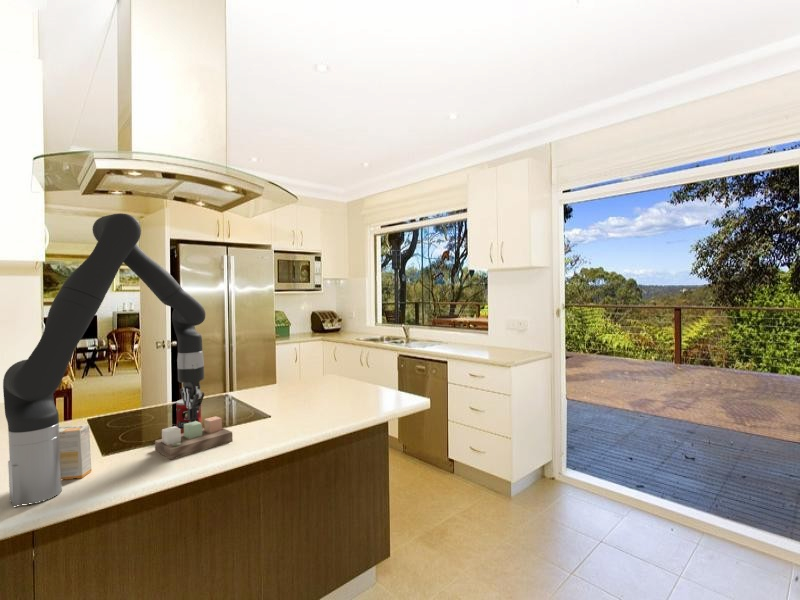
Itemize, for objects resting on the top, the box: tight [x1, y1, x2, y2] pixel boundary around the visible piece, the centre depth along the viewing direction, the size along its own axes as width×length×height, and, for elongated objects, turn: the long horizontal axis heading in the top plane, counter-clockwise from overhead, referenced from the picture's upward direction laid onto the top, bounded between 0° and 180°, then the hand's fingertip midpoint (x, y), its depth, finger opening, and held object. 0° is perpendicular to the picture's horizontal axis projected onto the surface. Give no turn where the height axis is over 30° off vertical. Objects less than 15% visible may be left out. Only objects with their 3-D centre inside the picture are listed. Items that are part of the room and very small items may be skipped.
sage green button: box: [184, 421, 203, 439], centre depth 134 cm, size 4×4×4 cm
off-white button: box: [161, 425, 181, 445], centre depth 129 cm, size 4×4×4 cm
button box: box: [154, 427, 233, 460], centre depth 133 cm, size 19×12×4 cm, turn 139°
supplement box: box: [59, 424, 93, 480], centre depth 112 cm, size 8×5×13 cm, turn 99°
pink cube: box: [203, 415, 223, 433], centre depth 139 cm, size 4×4×4 cm
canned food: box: [175, 398, 202, 434], centre depth 148 cm, size 8×8×11 cm
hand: (192, 419), depth 134 cm, fingers closed
